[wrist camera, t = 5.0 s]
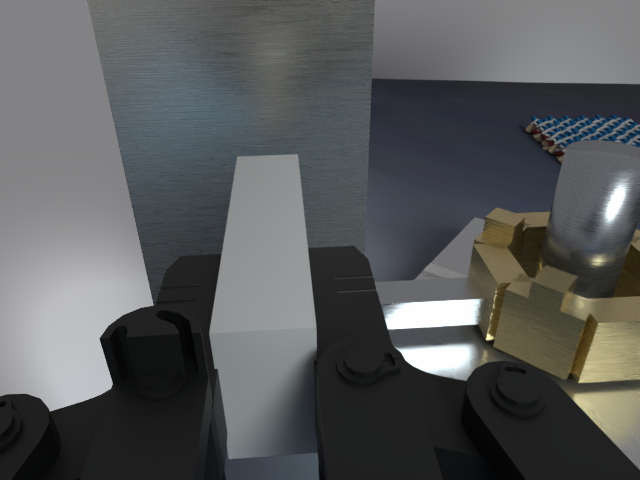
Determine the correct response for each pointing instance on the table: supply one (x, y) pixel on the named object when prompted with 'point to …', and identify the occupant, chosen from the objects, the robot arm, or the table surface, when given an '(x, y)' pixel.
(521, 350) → the ring nut
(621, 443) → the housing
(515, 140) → the table surface
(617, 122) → the woven mat
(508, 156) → the table surface
